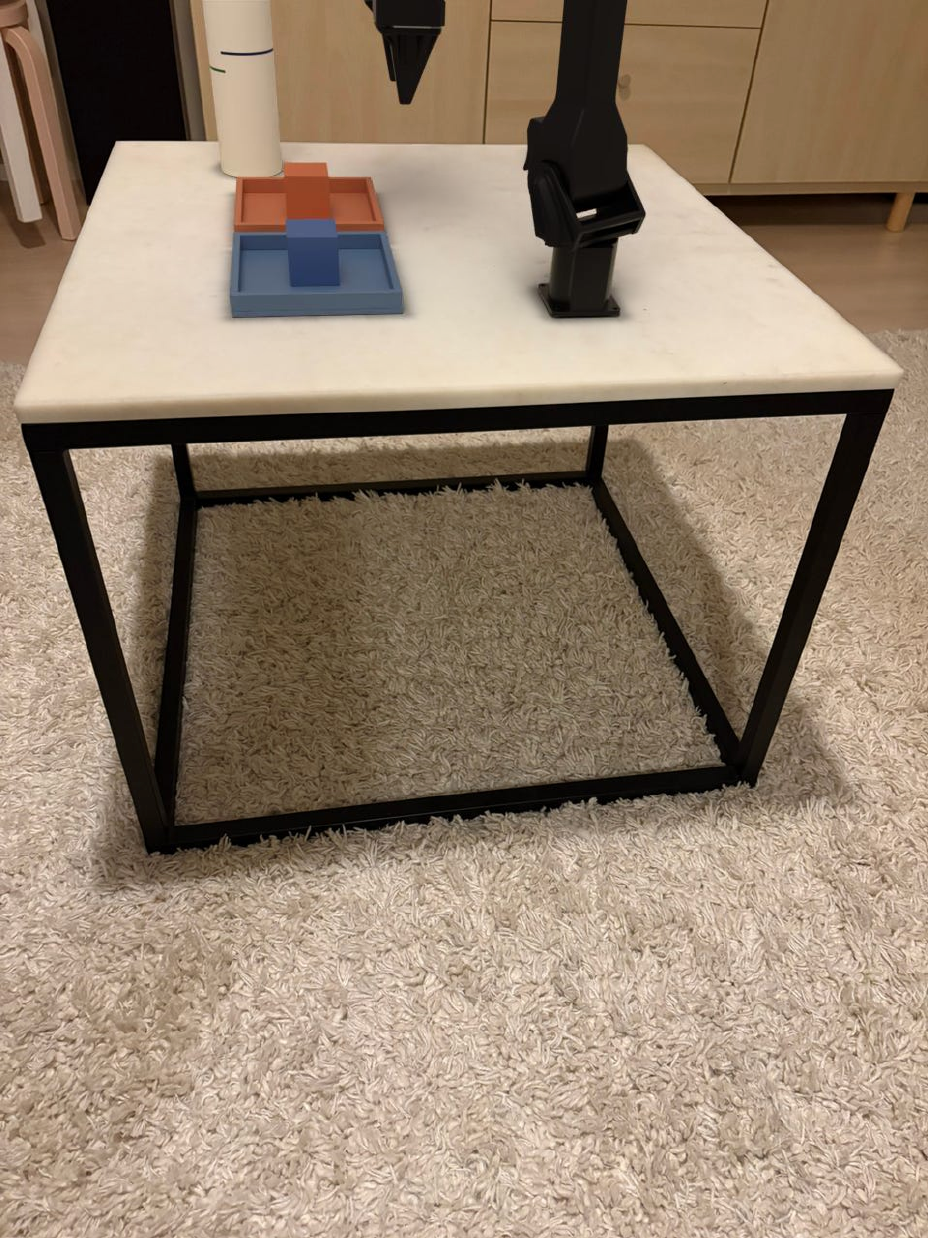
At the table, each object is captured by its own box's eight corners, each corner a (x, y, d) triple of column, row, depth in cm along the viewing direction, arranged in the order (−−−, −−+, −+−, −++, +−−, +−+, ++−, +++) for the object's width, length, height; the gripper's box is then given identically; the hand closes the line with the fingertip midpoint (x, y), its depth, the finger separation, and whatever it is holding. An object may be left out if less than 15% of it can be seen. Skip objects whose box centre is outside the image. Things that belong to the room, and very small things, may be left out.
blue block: (339, 285, 87) (337, 236, 84) (290, 286, 86) (286, 236, 83) (336, 266, 90) (334, 218, 87) (289, 267, 89) (285, 218, 86)
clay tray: (384, 243, 96) (384, 223, 95) (235, 244, 94) (233, 224, 93) (371, 194, 107) (371, 176, 106) (238, 195, 105) (236, 176, 104)
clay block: (330, 220, 99) (328, 175, 96) (287, 221, 98) (283, 175, 95) (328, 206, 102) (326, 162, 99) (286, 206, 102) (283, 162, 99)
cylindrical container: (270, 180, 109) (247, -87, 93) (211, 174, 110) (179, -93, 93) (290, 163, 115) (272, -93, 98) (235, 156, 115) (208, -99, 99)
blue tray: (402, 313, 84) (402, 291, 83) (232, 317, 82) (229, 294, 80) (386, 250, 95) (386, 230, 94) (235, 252, 93) (233, 232, 91)
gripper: (306, -116, 90) (315, 69, 101) (314, -95, 77) (324, 116, 87) (421, -110, 92) (418, 70, 102) (449, -89, 78) (443, 117, 89)
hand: (399, 92), depth 95 cm, fingers open, 9 cm apart
